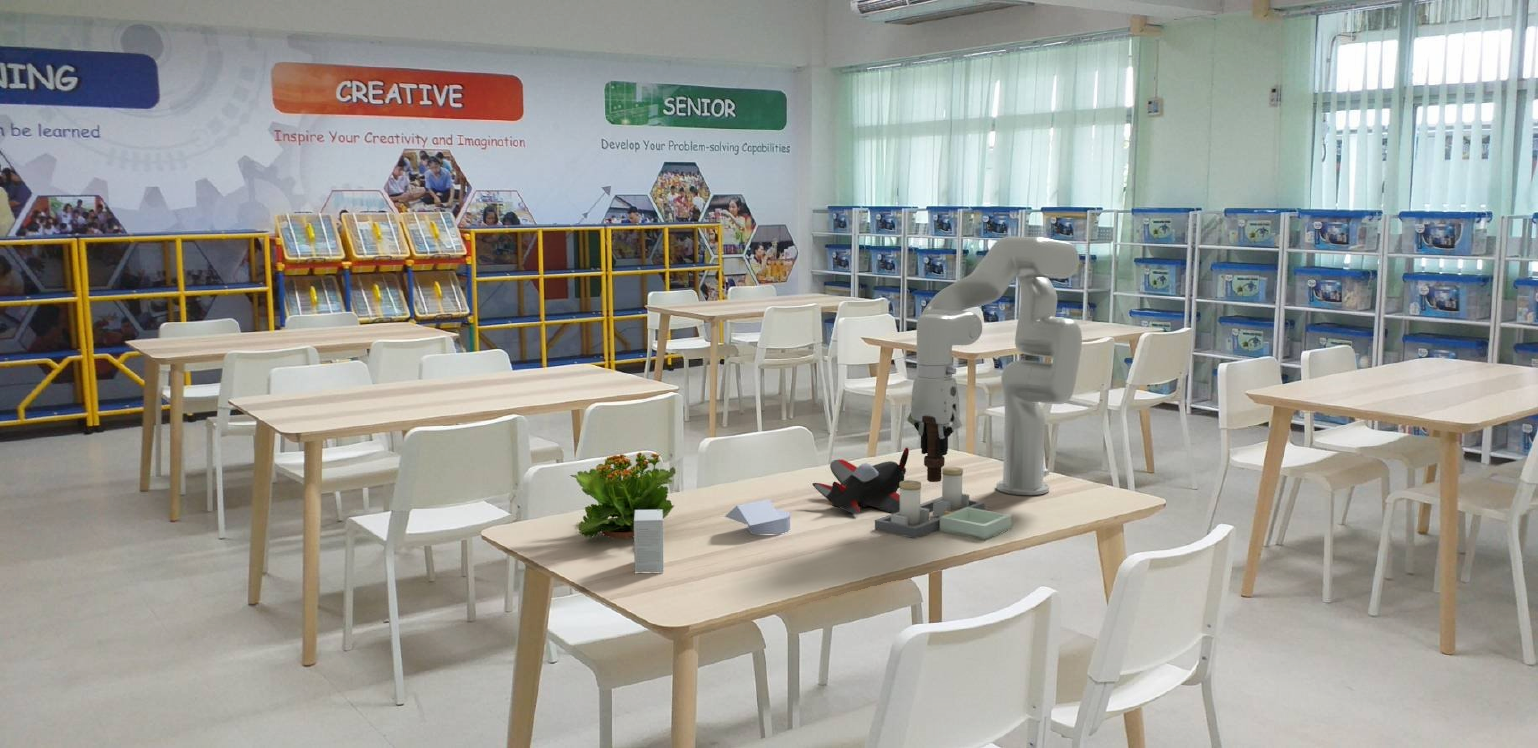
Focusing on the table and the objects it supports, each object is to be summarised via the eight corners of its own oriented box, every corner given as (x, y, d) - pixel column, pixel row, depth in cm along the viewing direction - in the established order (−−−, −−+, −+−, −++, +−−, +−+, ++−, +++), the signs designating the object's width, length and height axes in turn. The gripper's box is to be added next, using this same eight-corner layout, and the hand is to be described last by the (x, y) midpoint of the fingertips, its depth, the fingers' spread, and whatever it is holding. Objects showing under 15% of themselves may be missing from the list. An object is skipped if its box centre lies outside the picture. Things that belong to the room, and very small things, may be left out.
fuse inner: (948, 508, 269) (949, 465, 267) (966, 512, 266) (966, 468, 264) (937, 512, 265) (938, 469, 264) (955, 516, 262) (955, 472, 261)
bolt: (945, 484, 255) (945, 417, 253) (921, 484, 256) (921, 416, 254) (946, 478, 261) (946, 411, 258) (923, 477, 262) (923, 411, 259)
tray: (966, 520, 259) (966, 506, 259) (1011, 529, 252) (1011, 515, 252) (939, 530, 251) (939, 517, 250) (984, 540, 244) (985, 526, 243)
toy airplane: (791, 503, 279) (792, 450, 272) (864, 470, 292) (867, 418, 285) (870, 560, 260) (873, 504, 253) (944, 521, 273) (949, 467, 266)
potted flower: (559, 522, 259) (556, 444, 256) (663, 511, 267) (661, 436, 264) (583, 553, 235) (580, 468, 233) (696, 541, 244) (695, 458, 241)
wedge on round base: (750, 541, 244) (798, 530, 252) (749, 509, 243) (798, 499, 251) (724, 531, 251) (772, 521, 259) (724, 501, 250) (772, 491, 258)
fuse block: (874, 529, 252) (875, 513, 252) (945, 503, 273) (945, 489, 273) (917, 538, 245) (917, 522, 245) (986, 511, 266) (986, 496, 266)
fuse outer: (906, 524, 256) (907, 479, 255) (924, 528, 253) (925, 482, 252) (894, 528, 253) (895, 483, 251) (912, 532, 250) (913, 486, 248)
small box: (635, 561, 230) (634, 509, 229) (663, 560, 231) (663, 508, 229) (634, 574, 222) (632, 520, 221) (663, 573, 223) (662, 519, 221)
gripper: (976, 372, 252) (975, 455, 255) (912, 365, 263) (912, 446, 266) (957, 377, 246) (957, 462, 250) (892, 370, 257) (893, 452, 260)
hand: (934, 453), depth 258 cm, fingers closed on bolt, 3 cm apart
